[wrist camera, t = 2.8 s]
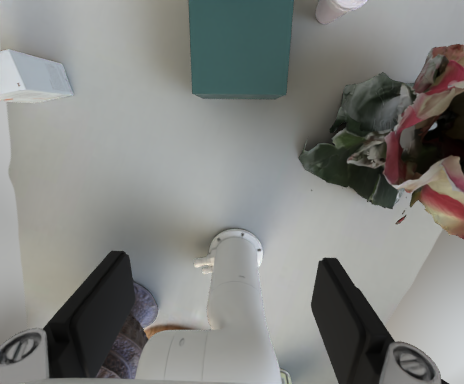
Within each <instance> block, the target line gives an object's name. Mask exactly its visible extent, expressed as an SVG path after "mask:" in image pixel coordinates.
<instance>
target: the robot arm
mask: <svg viewBox="0 0 464 384" xmlns="http://www.w3.org/2000/svg"><path fill="white" fill-rule="evenodd" d="M242 233H243V234H242ZM218 238H220V239H218ZM258 248H259V249H258ZM262 259H263V249H262V245H261V243H260V241H259V240H258V238H257V237H256V236H255V235H253V234H252V233H250V232H248V231H246V230H242V229H229V230H226V231H223V232H221V233H219V234H218V235H217V236H216V237H215V238H214V239H213V240H212V242H211V244H210V248H209V254H208V255H207V257H201V258H196V259H194V261H193V262H194V266H195V267H200V266H203V265H209V266H211V265H212V266H211V267H205V268H202V272H203V274H207V273H210V272H212V277H211V283H210V289H209V296H208V302H207V317H208V321H209V324H210V327H211V329H210V330H166V331H161V332H158V333H156V334H154V335H153V336H152V337H151V338H150V339H149V340H148V341H147V343H146V344H145V346H144V348H143V351H142V353H141V356H140V359H139V363H138V367H137V371H136V377H135V379H113V378H95V377H96V376H97V374H98V372H99V370H100V368H101V366H102V364H103V363H104V361H105V359H106V357H107V355H108V353H109V351H110V349H111V347H112V345H113V343H114V342H115V340H116V338H117V336H118V334H119V332H120V330H121V328H122V326H123V324H124V323H125V321H126V319H127V317H128V315H129V313H130V311H131V309H132V307H133V305H134V303H135V291H134V284H133V278H132V272H131V266H130V259H129V255H128V254H126V253H125V252H124V251H111V252H110V253H109V254H108V255H107V256H106V257H105V259H104V260H103V261H102V262H101V263H100V264H99V265H98V266H97V268H96V269H95V270H94V271H93V272H92V273H91V274H90V276H89V277H88V278H87V279H86V280H85V281H84V282H83V284H82V285H81V286H80V287H79V288H78V289H77V290H76V291H75V293H74V294H73V295H72V296H71V297H70V298H69V299H68V301H67V302H66V303H65V304H64V305H63V306H62V307H61V309H60V310H59V311H58V312H57V313H56V314H55V315H54V316H53V318H52V319H51V320H50V321H49V322H48V324H47V325H46V326H45V327H44V328H43V329H40V328H33V329H28V330H25V331H22V332H20V333H18V334H16V335H14V336H12V337H11V338H9V339H8V340H6V341H5V342H4V343H3V344H2V345H0V384H282V381H281V374H280V369H279V365H278V361H277V357H276V354H275V351H274V348H273V345H272V342H271V339H270V336H269V332H268V328H267V324H266V319H265V313H264V306H263V299H262V292H261V285H260V277H259V270H258V267H259V265H260V264H261V262H262ZM311 308H312V312H313V315H314V317H315V320H316V323H317V326H318V328H319V331H320V334H321V336H322V339H323V342H324V345H325V347H326V350H327V353H328V355H329V358H330V361H331V364H332V366H333V369H334V372H335V374H336V377H337V380H338V383H339V384H449V383H447V382H445V381H444V380H442V379H441V375H440V371H439V369H438V368H437V366H436V364H435V363H434V362H433V361H432V360H431V358H430V357H428V356H427V355H426V354H425V353H424V352H423V351H421V350H420V349H418V348H417V347H415V346H413V345H410V344H408V343H404V342H395V341H394V340H393V338H392V337H391V335H390V334H389V332H388V331H387V329H386V328H385V326H384V325H383V323H382V322H381V320H380V319H379V317H378V316H377V314H376V313H375V311H374V310H373V308H372V307H371V305H370V304H369V302H368V301H367V299H366V298H365V297H364V295H363V294H362V292H361V291H360V290H359V289H358V288H357V287H355V285H354V284H353V282H352V281H351V279H350V278H349V276H348V275H347V273H346V271H345V270H344V268H343V267H342V265H341V264H340V262H339V261H338V260H337V259H336V258H323V260H322V261H319V264H318V270H317V275H316V280H315V286H314V291H313V296H312V302H311Z"/></svg>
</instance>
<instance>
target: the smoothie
mask: <svg viewBox="0 0 464 384" xmlns="http://www.w3.org/2000/svg"><path fill="white" fill-rule="evenodd" d="M366 2H367V0H319V3H318V5H317V7H316V12H315V14H316V18H317V20H318V21H319V22H320V23H322V24H329V23H331V22H332V21H334V20H336V19H337V18H339V17H340V16H342V15H344V14H345V13H347V12H349V11H353V10H356V9H358V8H360V7H361V6H362V5H363V4H365V3H366Z"/></svg>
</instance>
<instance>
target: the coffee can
mask: <svg viewBox="0 0 464 384" xmlns="http://www.w3.org/2000/svg"><path fill="white" fill-rule="evenodd" d="M279 369H280V368H279ZM280 374H281V381H282V384H292V383H291V377H290V375H289V373H288V372H286V371H285V370H283V369H280Z"/></svg>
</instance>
